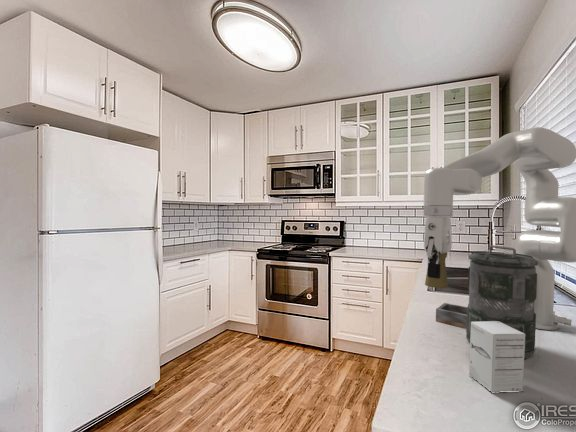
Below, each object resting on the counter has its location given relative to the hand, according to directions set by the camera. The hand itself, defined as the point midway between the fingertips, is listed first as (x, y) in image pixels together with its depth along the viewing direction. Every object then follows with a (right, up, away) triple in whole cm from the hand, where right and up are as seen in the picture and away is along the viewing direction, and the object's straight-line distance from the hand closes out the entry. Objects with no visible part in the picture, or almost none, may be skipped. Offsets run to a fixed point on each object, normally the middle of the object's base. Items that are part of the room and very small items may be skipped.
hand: (436, 275), depth 91 cm
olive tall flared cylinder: (0, -3, 0) cm, 3 cm away
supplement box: (+3, -20, -21) cm, 29 cm away
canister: (+16, -20, -2) cm, 25 cm away
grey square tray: (+15, -19, +17) cm, 30 cm away
